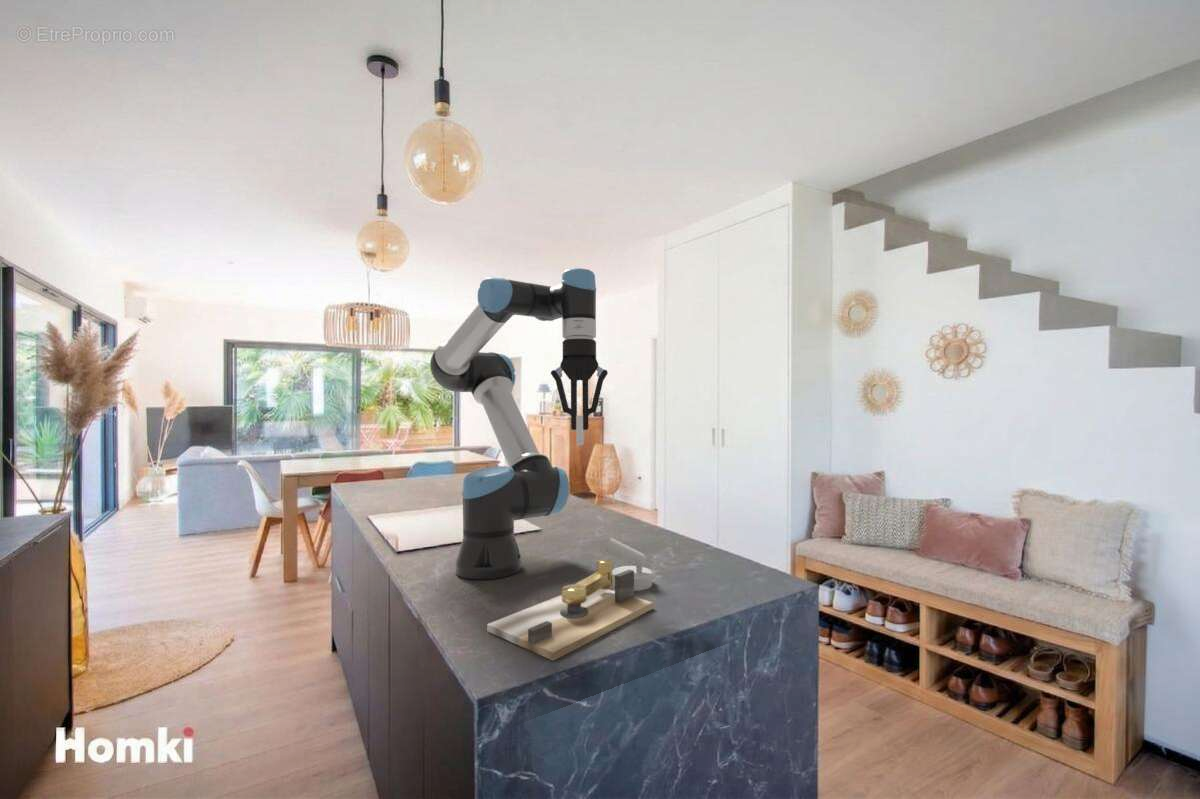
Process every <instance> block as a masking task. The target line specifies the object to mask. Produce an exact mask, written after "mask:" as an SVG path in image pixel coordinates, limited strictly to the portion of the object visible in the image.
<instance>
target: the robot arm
mask: <svg viewBox="0 0 1200 799" xmlns="http://www.w3.org/2000/svg"><path fill="white" fill-rule="evenodd" d="M596 296H597V286H596V275H595V273H594V272H593V270H590V269H589V268H588V269H586V268H581V267H580V268H577V267H575V268H569V269H568V268H567V269H565V270H564V271H563V273H562V275H561V283H559V284H557V285H554V286H549V285H543V284H537V283H531V282H525V281H518V280H515V279H514V280H513V279H507V278H505V277H493V276H492V277H486V278H484V279H483V280H481V282H480V283H479V288H478V290H477V302H478V304H477V305H476V307H475V308H474V309H473V310H472V311H471V313H470V314H469V315H468V316H467V318H465V320H464V321H463V322H462V324H461V325H460V326H459V327H458V328H457V330H456V331H454V333H453V334H452V336H451V337H450V338H449V339H448V341H446V342H443V343H441V344H439V345H438V347H436V349H435V350H434V351H433V353H432V356H431V357H430V363H429V364H430V365H429V366H430V367H429V368H430V372H431V375H432V377H433V379H434V380H435V382H436V383H437V384H439V386H440V387H442V388H443V389H446V390H447V391H450V392H454V393H457V392H458V393H471V394H472V397H473V399H474V401H475V402H476V403H477V404H480V405H481V406H482V407H483V408H484V411H485V414H486V415H487V417H488V421H489V423H490V425H491V428H492V430H493V432H494V435H495V438H496V440H497V442H498V444H499V447H500V449H501V451H502V454H503V456H504V459H505V460H506V464H507V466H505V465H504V466H503V465H501V466H500V465H499V466H495V467H492V466H491V467H485V468H480V469H477V470H474V471H471V472H469V473H468V474H466V476H464V479H463V483H462V491H461V492H462V493H461V497H462V540H461V543H460V546H459V550H458V554H457V558H456V560H455V563H454V564H455V571H454V572H455V574H456V575H457V576H458V577H461V578H465V579H468V580H469V579H470V580H494V579H500V578H505V577H509V576H512V575H515V574H517V573H519V572H520V571H521V570H522V568H523V566H522V555H521V554H520V550H519V545H518V543H517V540H516V537H515V526H514V525H515V521H517V520H518V521H519V520H520V521H521V520H526V519H532V518H539V517H548V516H551V515H553V514H558V513H560V512H561V511H563V509H564V508H565V507H566V505H567V503H568V501H569V496H570V495H569V494H570V481H569V477H568V474H567V472H566V470H564V469H563V468H562V467H559V466H554V467H553V465H552V464H551V461H550V459H549V457H548V456H547V455H545V454H542V453H540V452H539V449H538V448H537V445H536V443H535V441H534V439H533V437H532V434H531V432H530V430H529V428H528V427H527V424H526V422H525V420H524V417H523V415H522V413H521V411H520V408H519V407H518V404H517V402H516V400H515V398H514V396H513V394H512V392H513V390H514V385H515V383H516V374H515V372H516V370H515V366H514V364H513V362H512V360H511V359H510V358H509V357H508V356H507V355H505V354H503V353H497V352H494V351H493V352H491V351H489V352H482V351H481V350H482V349H483V348H484V347H485V346H486V345H487V344H488V343H489V341H490V340H492V338H493V337H494V336H495V335H496V333H498V332H499V330H500V329H501V328H502V327H503V326H504V325H505V324H506V323H507V322H508V321H509V320H511V318H512V317H513V316H515V315H516V316H521V317H523V316H524V317H531V318H535V319H536V320H539V321H541V322H548V321H549V322H553V321H555V320H558V319H562V328H561V329H562V338H563V341H562V360H561V362H560V364H559V365H560V366H559V367H557V368H555V369H553V370H551V371H550V375H551V376H552V378H553V380H554V381H555V383H556V388H557V392H558V396H559V400H560V405H561V408H562V412H563V413H565V414H568V415H570V425H571V426H570V428H571V430H572V431H575V432H576V433H575V434H576V435H575V436H576V437H575V438H576V439H575V442H576V445H575V446H584V443H585V442H584V436H585V435H584V431H587V430H588V429H589V416H590V415H591V414H593V413H595V412H596V411H597V409H598V404H599V401H600V400H599V399H600V396H601V392H602V387H603V384H604V380H606V379H605V378H606V377H607V375H608V370H606V369H604V368H603V367H600V366H599V362H598V361H597V341H596V340H595V339H596V337H597V314H596V313H597V312H596V311H597V310H596V309H597V302H596V301H597V297H596ZM480 351H481V352H480ZM596 371H597V372H596ZM563 373H564V374H565V375H566V376H567V378H568V379H569V380H570V407H569V403H568V400H567V396H566V392H565V388H564V384H563V380H562V377H563ZM595 373H596V376H597V382H596V385H595V389H594V394H593V398H592V404H591V406H590V408H589V380H591V378H592V377H593V375H594V374H595ZM578 381H582V382H581V383H582V385H581V386H582V388H581V390H582V415H578Z"/></svg>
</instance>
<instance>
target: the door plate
mask: <svg viewBox="0 0 1200 799" xmlns="http://www.w3.org/2000/svg"><path fill="white" fill-rule="evenodd" d="M653 609H654V602H653V601H649V600H646V599H642V598H640V597H636V596H635V591H634V571H633V570H627V571H624V572H622V573H619V574H617V575H615V587H614V590H611V589H599V590H597V591H596V592H594V593H592V594H591V595H589V596H587V597H586V601H585V602H584V603H581V604H566V603H563V602H562V594H560V595H557V596H555V597H552V598H550V599H548V600H545V601H543V602H539V603H536V604H535V605H532V606H529V607H528V608H525V609H522V610H519V611H517V612H515V613H512V614H510V615H506V616H504V617H502V618H500V619H496V620H494V621H491V622H489V623H487V624H486V625H487V626H486V628H487V629H486V631H487V632H488V633H491V634H492V635H495V636H497V637H500V638H501V639H504V640H506V641H508V642H510V643H512V644H515V645H517V646H519V647H521V648H524V649H527V650H529V651H531V652H532V653H535V654H537V655H539V656H542V657H544V658H546V659H548V660H551V661H556V660H557V659H559V658H561V657H563V656H566V655H568V654H569V653H571V652H573V651H575V650H576V649H579V648H580V647H582V645H583V646H584V645H587V644H588V643H590V642H593V641H594V640H596V639H598V638H599V637H600V638H601V636H603V635H605V634H607V633H609V632H611V631H613V630H615V629H617V628H619V627H621V626H623V625H625V624H627V623H629V622H631V621H632V620H634V619H636V618H638V617H640V616H642V615H643V614H646V613H648V612H650V611H651V610H653Z"/></svg>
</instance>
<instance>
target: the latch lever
mask: <svg viewBox="0 0 1200 799" xmlns="http://www.w3.org/2000/svg"><path fill="white" fill-rule="evenodd" d="M612 570H613V560H612V559H608V558H601V559H598V560H597V561H596V571H595V572H594V573H592V574H591V575H589V576H587V577H585V578H583V579H581V580H579V581H578V582H576V583H574V584H567V585H563V587H561V595H562V602H563V603H566V604H581V603H584V602H585V601H586V597H587V596H589V595H591V594H592V593H594V592H596V591H597V590H599V589H609V590H611V589H612V588H614V587H613V581H612Z"/></svg>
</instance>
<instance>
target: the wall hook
mask: <svg viewBox="0 0 1200 799" xmlns="http://www.w3.org/2000/svg"><path fill="white" fill-rule="evenodd" d="M605 552H606V553H608V554H610V555H613V556H614V557H616V558H618V559H621V560H622V561H624V562H627V563H628V564H630V565H624V566H618V567H615V568H612V581H613V587H612V588H615V575H617V574H619V573H622V572H624V571H627V570H633V571H634V592H636V591H637V592H638V591H644V590H647V589H650V588H651V587H652V585H653V572H652V570H650V568H647V567H645V566H646V564H647V562H648V558H647V555H645V554H644V553H642V552H640V551H638V550H636V549H635V548H632V547H631V546H628V545H627V544H624V543H623V542H620V541H619V540H616V539H614V538H612V537H610V539H609V541H608V543H607V545H606V546H605Z"/></svg>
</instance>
